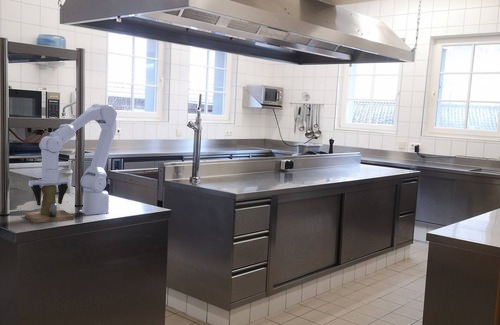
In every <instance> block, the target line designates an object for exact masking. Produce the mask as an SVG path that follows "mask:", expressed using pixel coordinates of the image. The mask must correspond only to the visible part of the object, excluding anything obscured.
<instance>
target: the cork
mask: <svg viewBox="0 0 500 325" xmlns="http://www.w3.org/2000/svg"><path fill="white" fill-rule="evenodd" d="M56 186H57V185H46V186H42V187H41V194H42V198H41V205H40V210H39V212H40V214H41V215H50V203H57V201H56V199H57V198H56V193H57V187H56Z"/></svg>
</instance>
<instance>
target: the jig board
mask: <svg viewBox="0 0 500 325" xmlns="http://www.w3.org/2000/svg"><path fill="white" fill-rule="evenodd" d="M24 217H25V218H27V219H28V220H29V221H30V222H31V223H33V224H39V223H50V222H61V221H72V220H74V215H73V214H71V213H70V212H67V211H66V210H64V209H57V215H56V217H49V215H41V214H40V211H29V212H27V211H26V212H25V213H24Z"/></svg>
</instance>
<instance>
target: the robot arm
mask: <svg viewBox="0 0 500 325" xmlns="http://www.w3.org/2000/svg"><path fill="white" fill-rule="evenodd" d="M117 115H118V111H116V109H115V107H114V106H113V105H111V104H99V103H94V104H92V105H91V106H89V107H87V109H86V110H85V111H84V112H83V113H82V114H80V115H79V116H78V117H77V118H76V119H74V120H73V121H72V122H70V124H68V123H64V124H62V123H61V124H60V125H59V126H58V127H59V128H57V129H56V130H54V131H52V132H50V133H49V135H47V136H44V137H42V138H41V140H40V142H39V143H38V147H39V149H40V150H41V179H34V180H32V179H31V180H28V186H29V187H30V188H31V190H32V193H33V194H34V198H35V200H36V205H37V206H40V207H41V205H42V198H41V195H42V187H43V186H46V185H55V186H57V204H59V205H62V204H63V199H64V196H65V192H66V191H67V189H68V186H67V185H70V180H69V179H59V177H58V176H59V173H58V171H59V157H60V156H59V154H60V152H59V151H61V150H62V149H63V148H62V147H63V145H65V144H66V143H67V142H69V141H70V140H72V139H73V138H74V137H75V136H76V132H77V131H78V130H79V129H81V128H82V127H84V126H85V125H87V124H88V123H90V122H92V121H95V123H97V124H98V125H99V127H100V129H101V131H100V135H99V137H98V140H97V142H96V147H95V150H94V153H93V156H92V160H91V164H90V166H88V167H87V168H86V169H85V171H84V174H83V175H82V176H81V178H80V186H81V187H82V189H83V198H82V199H83V203H82V204H83V205H82V206H83V208H82V209H80V210H79V212H80V213H82V214H83V215H86V216H89V215H90V216H91V215H100V214H101V215H102V214H104V215H105V214H109V213H110V212H109V202H110V201H109V200H110V196H109V192H108V191H107V190H105V188H106V186H107V172H106V170H105V168H106V164H107V160H108V157H109V155H110V151H111V148H112V146H113V145H112V144H113V141H114V138H115V135H116V131H117ZM41 186H42V187H41Z"/></svg>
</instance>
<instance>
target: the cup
mask: <svg viewBox="0 0 500 325" xmlns="http://www.w3.org/2000/svg"><path fill="white" fill-rule="evenodd" d="M73 172H74V171H73V170H72V168H58V179H69V180H70V185H67V186H68V189H67V191H66V192H65V194H66V193H67V194H70V193H71V187H72V180H73V179H72V178H73ZM65 194H64V195H65Z"/></svg>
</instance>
